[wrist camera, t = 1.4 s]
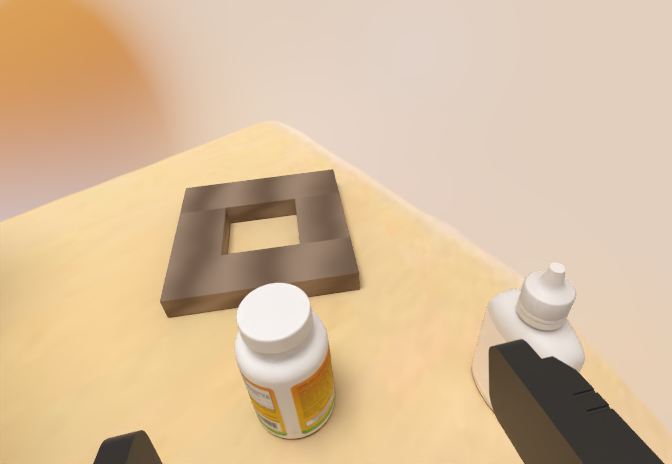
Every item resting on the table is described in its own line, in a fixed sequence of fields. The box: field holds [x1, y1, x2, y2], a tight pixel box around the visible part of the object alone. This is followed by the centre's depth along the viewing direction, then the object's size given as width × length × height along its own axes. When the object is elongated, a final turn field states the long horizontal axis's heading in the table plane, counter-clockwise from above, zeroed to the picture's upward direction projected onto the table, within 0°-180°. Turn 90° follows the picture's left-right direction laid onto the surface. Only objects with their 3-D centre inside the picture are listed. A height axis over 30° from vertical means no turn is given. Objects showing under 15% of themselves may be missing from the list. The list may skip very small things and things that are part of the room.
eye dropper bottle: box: [472, 263, 585, 410], centre depth 24 cm, size 4×6×12 cm
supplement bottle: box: [235, 283, 335, 439], centre depth 26 cm, size 5×5×10 cm
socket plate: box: [160, 170, 359, 317], centre depth 41 cm, size 16×16×2 cm
